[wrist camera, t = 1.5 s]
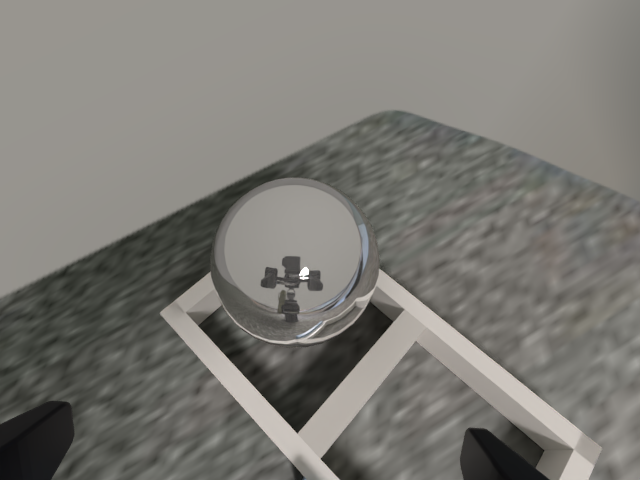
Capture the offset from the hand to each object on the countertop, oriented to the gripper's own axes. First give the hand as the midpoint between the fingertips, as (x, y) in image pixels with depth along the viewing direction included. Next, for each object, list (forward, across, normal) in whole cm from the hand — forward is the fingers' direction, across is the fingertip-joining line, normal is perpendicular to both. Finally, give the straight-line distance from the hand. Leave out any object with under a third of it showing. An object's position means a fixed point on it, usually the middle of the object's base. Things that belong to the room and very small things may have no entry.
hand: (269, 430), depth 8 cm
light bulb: (+14, 0, +5) cm, 15 cm away
